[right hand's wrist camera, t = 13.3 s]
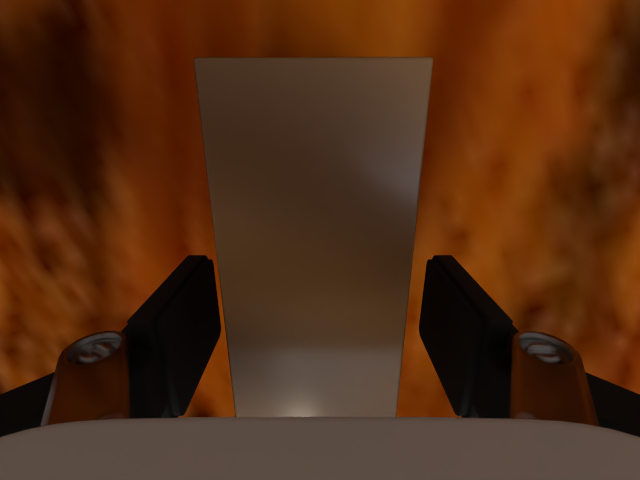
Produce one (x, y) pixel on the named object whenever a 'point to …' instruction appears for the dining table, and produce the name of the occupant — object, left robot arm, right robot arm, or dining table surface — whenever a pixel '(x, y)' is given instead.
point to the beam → (314, 225)
